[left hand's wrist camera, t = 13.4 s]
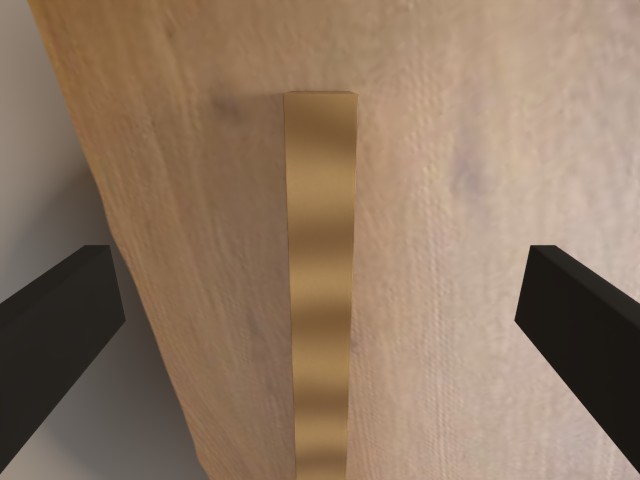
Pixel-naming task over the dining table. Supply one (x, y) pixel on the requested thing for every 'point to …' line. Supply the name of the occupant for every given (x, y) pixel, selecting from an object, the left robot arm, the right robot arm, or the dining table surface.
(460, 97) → the dining table surface
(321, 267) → the bar
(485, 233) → the dining table surface
